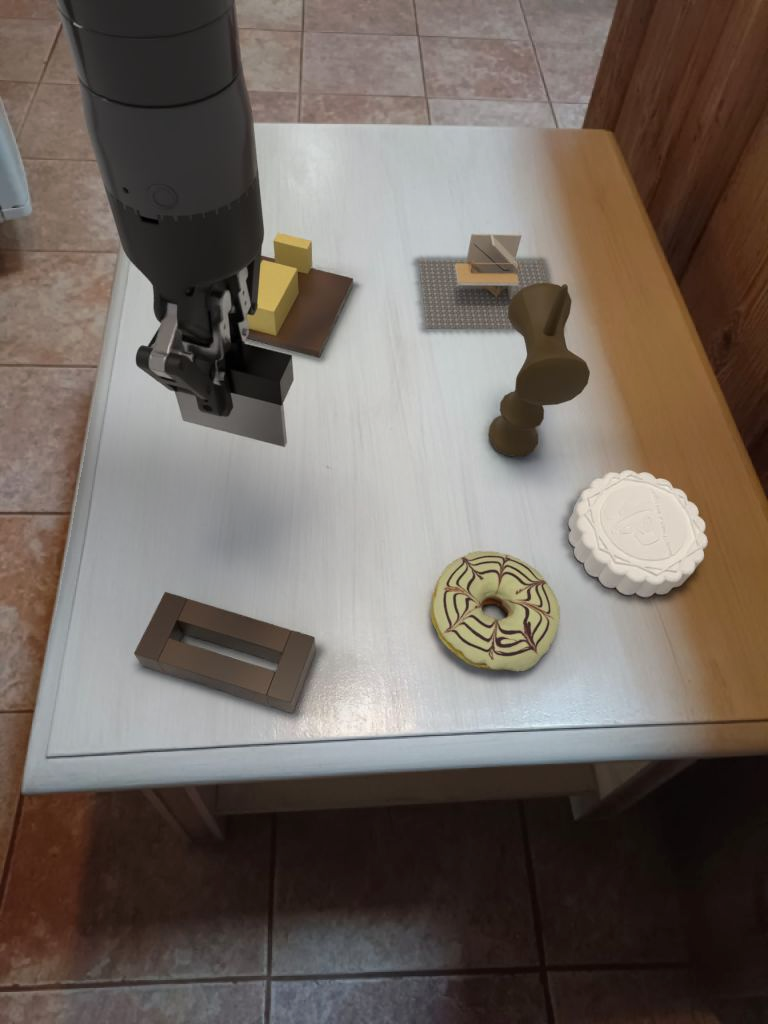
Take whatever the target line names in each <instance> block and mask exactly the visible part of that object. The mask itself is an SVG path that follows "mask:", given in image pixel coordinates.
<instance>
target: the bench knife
mask: <svg viewBox="0 0 768 1024" xmlns="http://www.w3.org/2000/svg"><path fill="white" fill-rule="evenodd" d="M159 328H160V326H159V327H158V328H157V330H156V331H155V333H154V335H153V337H152V338H151V340H150V341H149V343H148V345H147V346H148V347H151V346H152V345H153V344H155V341H156V338H157V334H158V331H159ZM224 356H225V365H226V374H227V375H228V381H229V386H230V391H231V397H232V402H233V409H232V411H231V413H230V415H229V416H228V417H223V416H221V417H220V416H216V415H212V414H208V413H204V412H201V411H200V410H199V408H198V403H197V399H196V396H193V395H189V394H186V393H182V392H174V394H175V398H176V401H177V404H178V408H179V412H180V415H181V418H182V422H186V423H190V424H193V425H197V426H201V427H205V428H210V429H212V430H216V431H220V432H223V433H224V432H225V433H228V434H233V435H236V436H240V437H244V438H247V439H252V440H255V441H259V442H262V443H267V444H271V445H274V446H279V447H283V448H286V446H287V444H288V438H287V428H286V427H287V426H286V417H285V407H284V403H285V400H286V398H287V396H288V394H289V391H290V389H291V387H292V384H293V383H294V381H295V378H294V365H293V355H292V354H289V353H285V352H281V351H277V350H274V349H269V348H265V347H260V346H257V345H253V344H249V343H246V342H245V343H241V342H237V341H233V340H231V346H230V348H229V349H228V351H227V352H226V354H225V355H224ZM196 359H199V360H203V361H207V362H209V360H208V359H207V358H206V357H204V356H200V355H196Z"/></svg>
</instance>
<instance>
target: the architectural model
mask: <svg viewBox="0 0 768 1024" xmlns="http://www.w3.org/2000/svg"><path fill="white" fill-rule="evenodd" d="M470 234H471V235H470V240H469V244H468V249H467V256H466V260H459V259H458V260H457V259H456V260H454V259H453V260H452V259H449V260H444V259H443V260H442V259H439V260H437V259H434V260H433V259H419V260H418V267H419V274H420V275H419V276H420V283H421V292H422V300H423V308H424V316H425V317H424V318H425V325H426V329H468V330H469V329H470V330H471V329H472V330H473V329H476V330H477V329H478V330H479V329H480V330H482V329H487V330H489V329H490V330H491V329H495V330H496V329H498V330H499V329H503V330H504V329H505V330H507V329H512V330H513V329H514V328H513V326H512V325H511V323H510V321H509V319H508V307H509V304H510V302H511V300H512V298H513V296H514V295H515V294H517V293H518V292H519V291H520V290H521V289H522V288H525V287H527V286H530V285H532V284H539V283H548V282H547V279H546V275H545V271H544V267H543V262H542V260H541V261H539V260H527V261H526V260H516V259H517V254H518V251H519V247H520V243H521V239H522V233H470ZM514 330H515V329H514Z"/></svg>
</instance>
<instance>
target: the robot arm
mask: <svg viewBox="0 0 768 1024" xmlns="http://www.w3.org/2000/svg"><path fill="white" fill-rule="evenodd" d="M55 3H56V7H57V11H58V14H59V17H60V21H61V25H62V27H63V30H64V34H65V38H66V41H67V45H68V49H69V51H70V55H71V59H72V62H73V65H74V68H75V72H76V76H77V81H78V85H79V89H80V95H81V102H82V108H83V115H84V121H85V127H86V130H87V133H88V137H89V141H90V144H91V148H92V150H93V154H94V157H95V160H96V164H97V168H98V170H99V173H100V174H99V175H100V177H101V180H102V183H103V187H104V190H105V195H106V197H107V201H108V203H109V207H110V210H111V214H112V217H113V219H114V223H115V227H116V230H117V233H118V236H119V241H120V243H121V247H122V250H123V252H124V254H125V256H126V257H127V259H128V260H129V261H130V262H131V264H132V265H134V267H135V268H136V269H138V271H139V272H140V273H141V274H142V275H143V276H144V277H145V278H146V279H147V281H149V283H150V284H151V286H152V295H153V301H152V303H153V306H152V307H153V308H152V309H153V313H154V317H155V318H156V320H157V321H158V323H159V324H160V325H159V327H160V328H159V327H158V328H159V331H158V334H157V338H156V341H155V344H153V345H152V346H151V347H148V345H143V344H142V345H140V346H139V347H138V348H137V351H136V354H135V364H136V366H137V368H139V369H140V370H142V371H143V372H144V373H146V374H147V375H148V376H150V377H151V378H152V379H154V380H155V381H156V382H158V383H159V384H161V385H162V386H163V387H165V389H167V390H168V391H170V392H174V393H175V392H182V393H186V394H189V395H193V396H196V399H197V403H198V408H199V410H200V411H201V412H204V413H208V414H212V415H216V416H220V417H221V416H223V417H228V416H229V415H230V413H231V411H232V409H233V402H232V397H231V391H230V386H229V381H228V375H227V374H226V365H225V356H224V355H225V354H226V352H227V351H228V349H229V348H230V346H231V340H233V341H237V342H241V343H245V344H246V340H247V339H248V338H247V336H248V334H249V325H248V321H247V314H248V315H252V316H253V315H254V314H255V312H256V310H257V307H258V304H257V303H258V290H259V277H260V264H261V255H262V249H263V243H264V238H265V227H264V225H265V224H264V215H263V206H262V205H263V203H262V196H261V195H262V194H261V186H260V185H261V184H260V176H259V175H260V173H259V165H258V154H257V143H256V134H255V122H254V116H253V109H252V104H251V99H250V95H249V91H248V87H247V83H246V78H245V74H244V68H243V62H242V52H241V41H240V33H239V22H238V14H237V3H236V0H55ZM196 355H200V356H204V357H206V358H207V359H208V360H209V362H207V361H203V360H199V359H196Z"/></svg>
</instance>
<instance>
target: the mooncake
mask: <svg viewBox="0 0 768 1024" xmlns="http://www.w3.org/2000/svg"><path fill="white" fill-rule="evenodd" d="M699 514H700V513H699V508H698V506H697V505H696V504H695V503H694V502H692V501H690V500H688V496H687V494H686V492H685V491H683V490H682V489H680V488H676V487H673V485H672V483H671V482H670V481H669V480H667V479H665V478H657V477H656V476H654V475H653V474H652V473H649V472H647V471H646V472H645V471H643V472H642V471H641V472H639V473H637V472H635V471H634V470H631V469H625V470H622V471H621V472H619V473H618V472H615V471H611V472H610V471H609V472H607V473H605V475H604V476H603V477H602V478H600V477H599V478H594V479H593V480H592V481H591V482H590V483H589V486H588V487H587V488H584V489H583V490H582V492H581V493H580V495H579V497H578V499H577V500H576V502H575V504H574V506H573V510H572V514H571V516H570V517H569V519H568V528H569V530H570V532H569V533H568V541H569V543H570V544H571V546H572V547H574V550H573V554H574V557H575V558H576V560H577V561H579V562H580V563H582V564H583V566H584V570H585V571H586V573H587V574H588V575H590V576H591V577H594V578H598V580H599V582H600V583H601V584H602V586H603V587H606V588H608V589H614V588H616V590H617V591H618V592H619V593H621V594H622V595H625V596H631V595H634V594H636V595H637V596H639V597H642V598H649V597H651V596H653V595H654V594H656V595H666V594H668V593H669V592H670V591H671V590H672V589H673V588H678V587H681V586H682V585H683V584H684V583H685V582H686V581H687V579H689V578H690V576H691V575H692V574H694V572H695V570H696V568H697V567H698V566H699V565H700V564H701V563H702V562H703V560H704V558H705V553H704V550H705V549H706V548H707V546H708V543H709V542H708V537H707V535H706V534H705V533H704V532H705V531H706V528H707V527H706V525H707V524H706V521H704V519H703V518H702V517H701V516H699Z"/></svg>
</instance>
